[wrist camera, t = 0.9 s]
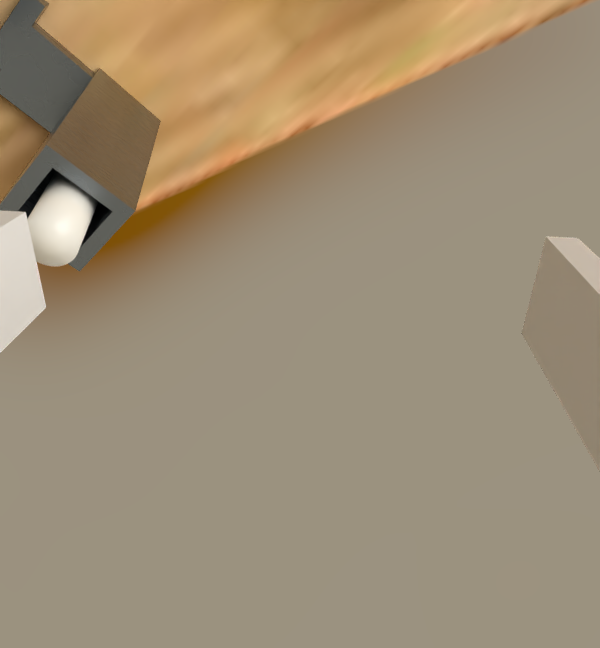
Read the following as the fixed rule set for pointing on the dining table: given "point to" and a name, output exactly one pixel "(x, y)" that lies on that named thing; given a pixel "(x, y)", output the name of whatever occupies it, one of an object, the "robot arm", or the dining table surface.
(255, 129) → the dining table surface
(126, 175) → the grey l-shaped piece
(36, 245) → the plunger
